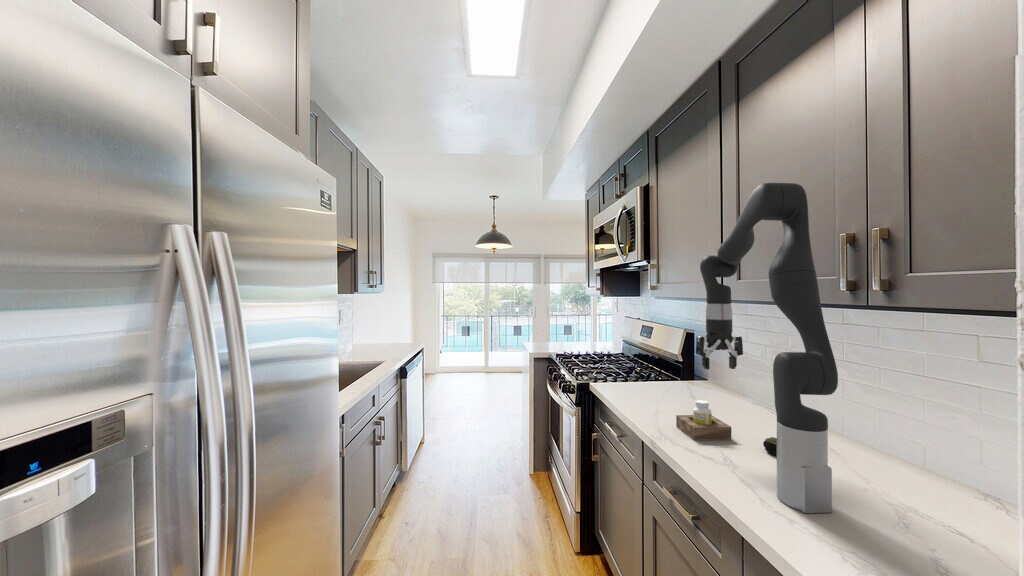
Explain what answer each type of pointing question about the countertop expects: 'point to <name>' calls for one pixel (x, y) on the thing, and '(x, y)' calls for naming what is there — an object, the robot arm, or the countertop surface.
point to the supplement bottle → (702, 413)
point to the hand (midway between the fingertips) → (719, 368)
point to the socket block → (703, 428)
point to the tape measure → (771, 445)
